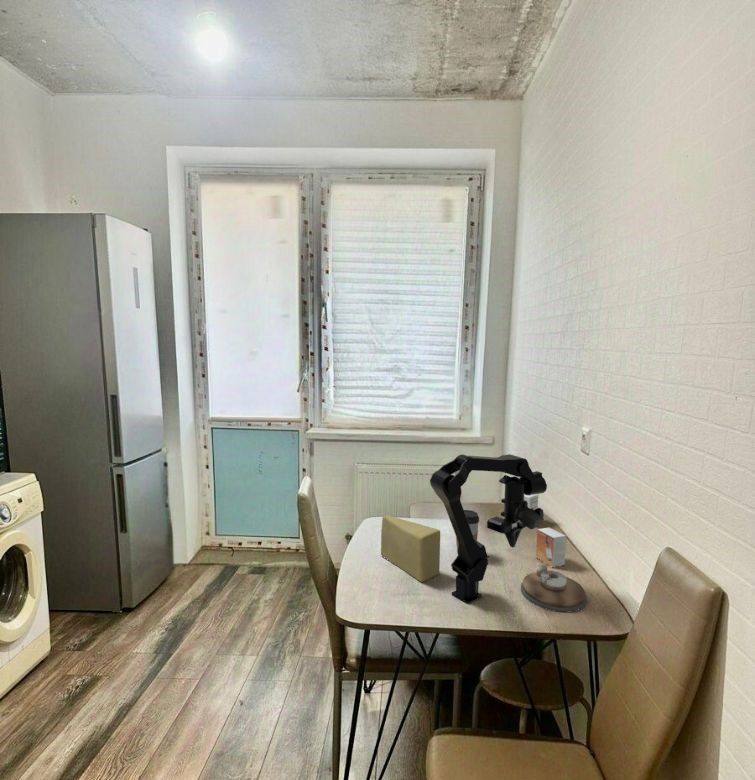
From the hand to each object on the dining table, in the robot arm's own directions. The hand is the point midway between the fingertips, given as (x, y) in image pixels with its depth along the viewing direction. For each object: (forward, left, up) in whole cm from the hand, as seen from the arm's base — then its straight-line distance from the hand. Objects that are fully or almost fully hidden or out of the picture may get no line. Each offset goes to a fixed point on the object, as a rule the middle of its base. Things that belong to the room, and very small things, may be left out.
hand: (512, 546), depth 136 cm
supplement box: (+49, +27, -12) cm, 57 cm away
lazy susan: (+5, -11, -11) cm, 16 cm away
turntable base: (+5, -11, -12) cm, 17 cm away
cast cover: (+5, -11, -9) cm, 15 cm away
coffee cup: (+5, +22, -12) cm, 26 cm away
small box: (+24, +1, -12) cm, 27 cm away
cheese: (-18, +29, -12) cm, 36 cm away
